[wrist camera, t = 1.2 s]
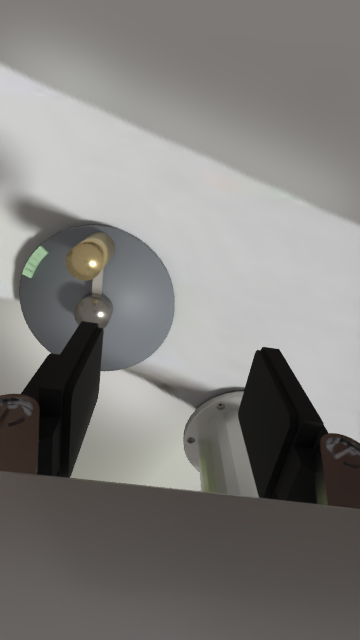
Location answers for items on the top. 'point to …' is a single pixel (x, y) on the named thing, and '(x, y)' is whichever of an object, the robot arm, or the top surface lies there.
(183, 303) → the top surface
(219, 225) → the top surface
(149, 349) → the dial plate
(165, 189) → the top surface
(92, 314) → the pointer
